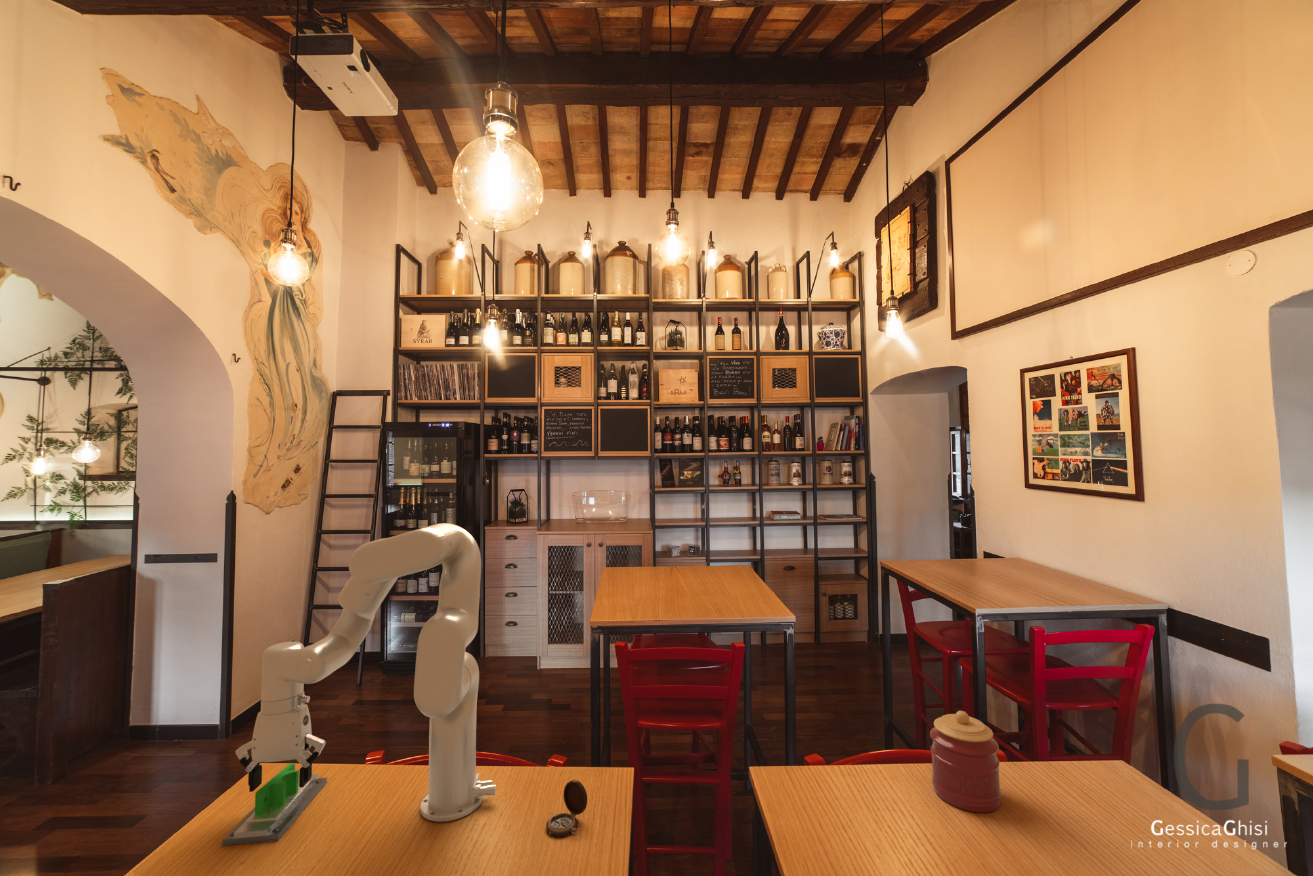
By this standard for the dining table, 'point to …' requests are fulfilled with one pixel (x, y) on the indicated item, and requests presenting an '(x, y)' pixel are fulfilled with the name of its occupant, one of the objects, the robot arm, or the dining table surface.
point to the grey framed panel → (274, 817)
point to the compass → (575, 804)
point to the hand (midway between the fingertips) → (280, 786)
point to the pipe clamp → (277, 789)
